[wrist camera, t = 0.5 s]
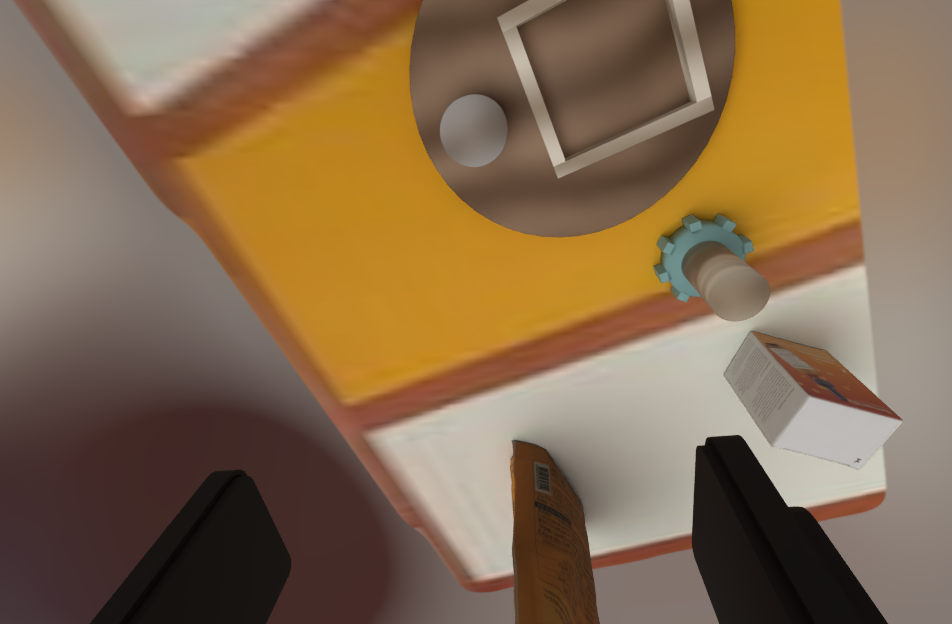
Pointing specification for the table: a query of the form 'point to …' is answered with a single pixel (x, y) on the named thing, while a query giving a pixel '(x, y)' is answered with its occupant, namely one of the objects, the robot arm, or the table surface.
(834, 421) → the small box
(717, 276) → the gear
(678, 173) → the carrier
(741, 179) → the table surface
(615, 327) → the table surface
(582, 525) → the pancake mix bag
